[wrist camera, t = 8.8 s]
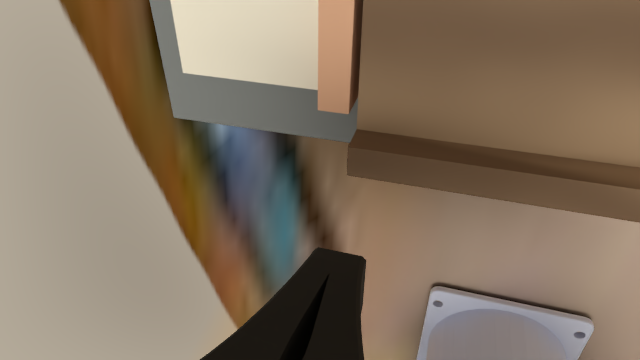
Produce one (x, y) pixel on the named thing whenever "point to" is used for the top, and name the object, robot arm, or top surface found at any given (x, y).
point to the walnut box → (503, 101)
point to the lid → (275, 44)
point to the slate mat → (243, 96)
